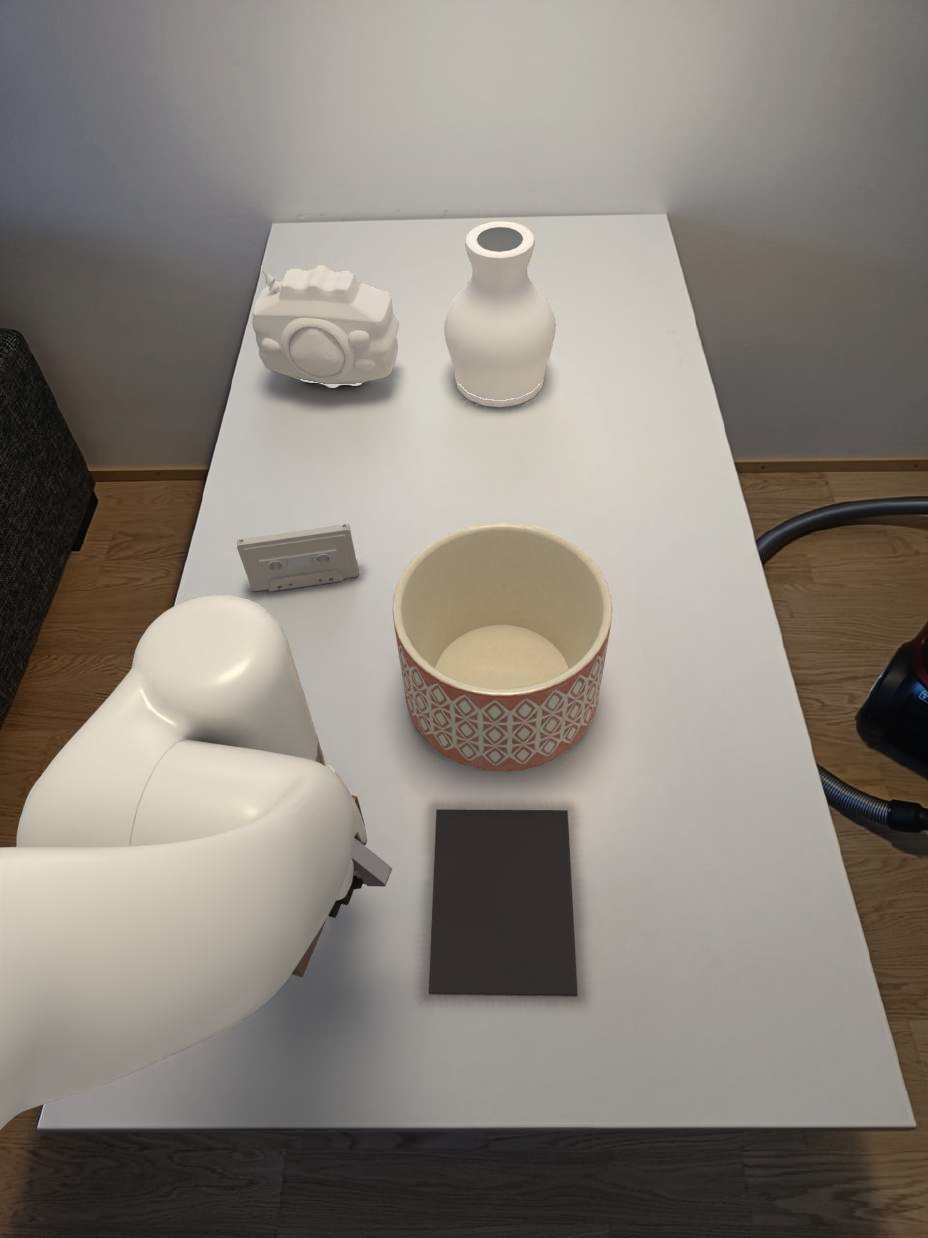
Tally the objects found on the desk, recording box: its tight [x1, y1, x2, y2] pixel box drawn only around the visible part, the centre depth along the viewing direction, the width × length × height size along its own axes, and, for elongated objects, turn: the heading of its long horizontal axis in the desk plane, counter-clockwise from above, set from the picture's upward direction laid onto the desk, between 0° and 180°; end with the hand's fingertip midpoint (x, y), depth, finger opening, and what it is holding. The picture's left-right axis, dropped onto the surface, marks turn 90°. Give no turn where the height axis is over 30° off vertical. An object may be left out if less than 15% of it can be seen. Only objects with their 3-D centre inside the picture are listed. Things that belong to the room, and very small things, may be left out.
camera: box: [252, 265, 400, 384], centre depth 113 cm, size 11×18×16 cm, turn 82°
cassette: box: [236, 523, 360, 592], centre depth 95 cm, size 12×2×8 cm, turn 100°
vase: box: [443, 220, 557, 408], centre depth 111 cm, size 14×14×20 cm
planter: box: [392, 522, 613, 772], centre depth 83 cm, size 19×19×15 cm
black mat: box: [428, 809, 578, 996], centre depth 76 cm, size 16×12×1 cm
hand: (309, 887), depth 65 cm, fingers closed on bar, 4 cm apart
